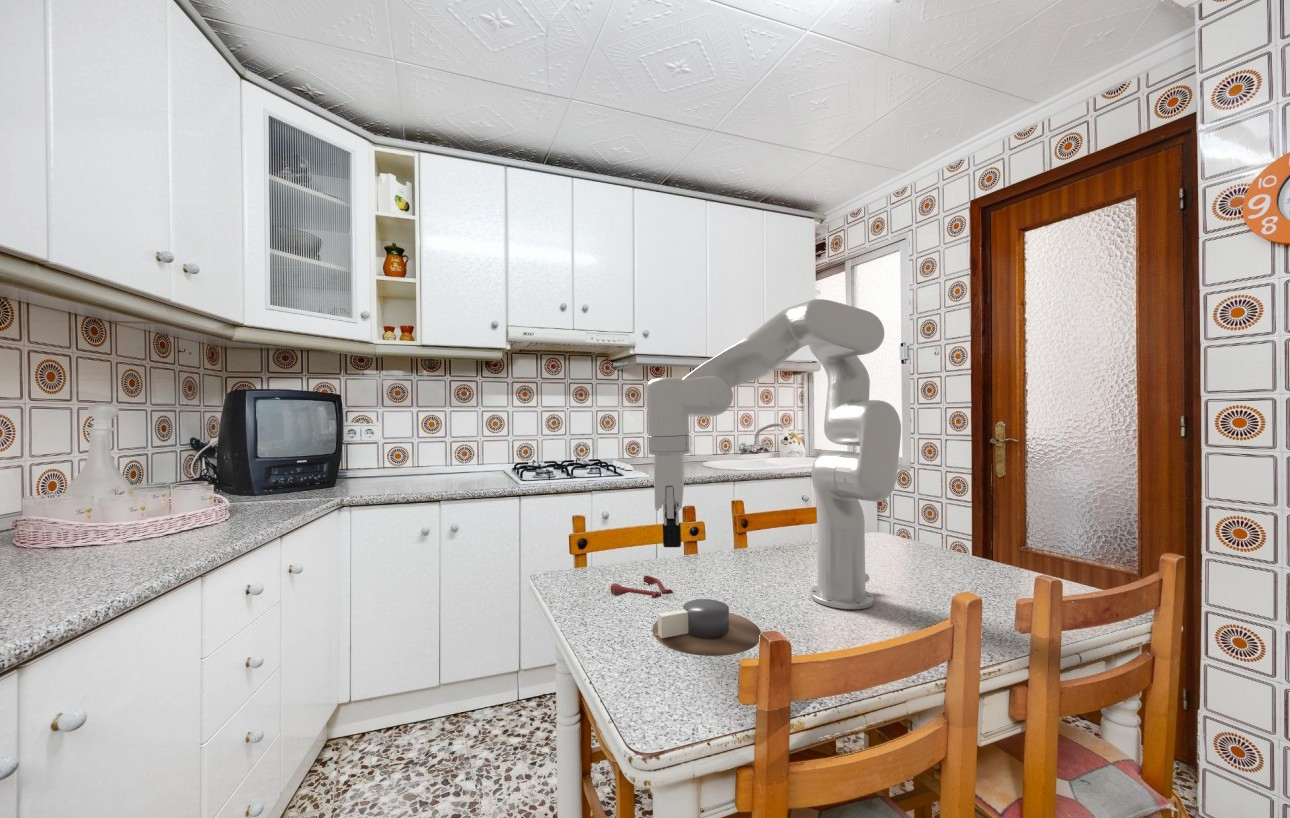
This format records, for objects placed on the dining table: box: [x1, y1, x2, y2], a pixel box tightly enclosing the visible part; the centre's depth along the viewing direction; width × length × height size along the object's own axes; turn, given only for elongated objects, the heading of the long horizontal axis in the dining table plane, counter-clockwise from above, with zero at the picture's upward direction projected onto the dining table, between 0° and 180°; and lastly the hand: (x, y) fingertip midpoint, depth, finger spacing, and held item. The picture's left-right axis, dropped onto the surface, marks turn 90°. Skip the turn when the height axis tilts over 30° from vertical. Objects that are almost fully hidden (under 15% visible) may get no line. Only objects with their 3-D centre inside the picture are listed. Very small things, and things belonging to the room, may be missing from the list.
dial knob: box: [657, 598, 730, 638], centre depth 87 cm, size 13×8×4 cm, turn 113°
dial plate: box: [651, 612, 762, 657], centre depth 88 cm, size 19×19×2 cm
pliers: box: [610, 575, 680, 603], centre depth 107 cm, size 12×20×3 cm, turn 38°
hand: (672, 545), depth 91 cm, fingers closed
